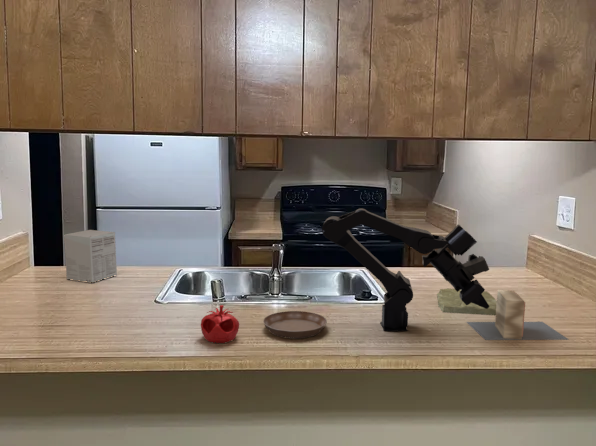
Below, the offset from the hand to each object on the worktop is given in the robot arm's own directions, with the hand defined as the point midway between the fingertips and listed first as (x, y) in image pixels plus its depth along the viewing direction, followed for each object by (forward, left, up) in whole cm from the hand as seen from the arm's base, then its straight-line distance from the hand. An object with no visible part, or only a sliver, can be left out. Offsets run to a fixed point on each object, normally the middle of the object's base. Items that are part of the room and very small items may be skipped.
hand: (488, 307), depth 142 cm
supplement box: (-129, +60, -7) cm, 143 cm away
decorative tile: (+3, +24, -8) cm, 26 cm away
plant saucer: (-53, +3, -8) cm, 54 cm away
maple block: (+6, -1, -7) cm, 9 cm away
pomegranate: (-73, -4, -8) cm, 73 cm away
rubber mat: (+8, 0, -7) cm, 11 cm away
